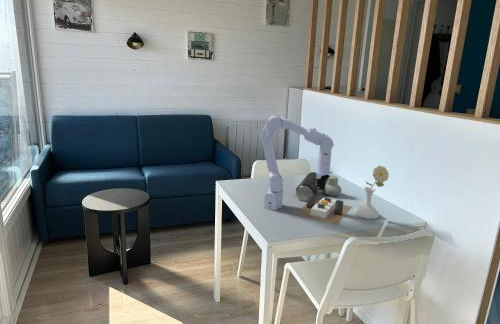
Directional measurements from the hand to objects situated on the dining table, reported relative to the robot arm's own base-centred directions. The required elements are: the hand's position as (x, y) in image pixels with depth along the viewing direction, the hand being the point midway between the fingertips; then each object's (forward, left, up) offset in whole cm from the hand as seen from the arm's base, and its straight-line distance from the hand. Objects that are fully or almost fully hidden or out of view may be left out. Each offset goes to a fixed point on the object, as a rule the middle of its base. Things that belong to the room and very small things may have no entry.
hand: (321, 189), depth 171 cm
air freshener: (+27, +3, -11) cm, 29 cm away
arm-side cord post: (-1, +4, -10) cm, 11 cm away
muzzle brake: (+18, +18, -7) cm, 27 cm away
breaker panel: (-1, -2, -11) cm, 11 cm away
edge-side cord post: (-1, -9, -10) cm, 13 cm away
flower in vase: (+6, -21, -11) cm, 25 cm away
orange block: (-1, -2, -7) cm, 7 cm away
